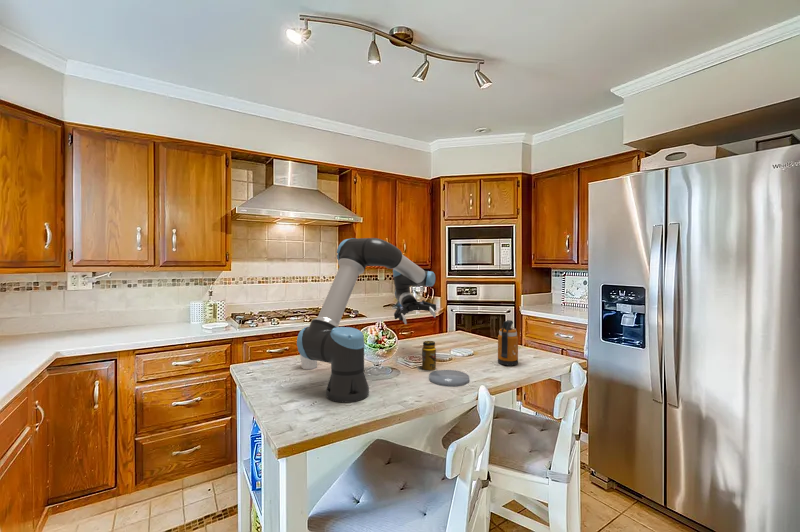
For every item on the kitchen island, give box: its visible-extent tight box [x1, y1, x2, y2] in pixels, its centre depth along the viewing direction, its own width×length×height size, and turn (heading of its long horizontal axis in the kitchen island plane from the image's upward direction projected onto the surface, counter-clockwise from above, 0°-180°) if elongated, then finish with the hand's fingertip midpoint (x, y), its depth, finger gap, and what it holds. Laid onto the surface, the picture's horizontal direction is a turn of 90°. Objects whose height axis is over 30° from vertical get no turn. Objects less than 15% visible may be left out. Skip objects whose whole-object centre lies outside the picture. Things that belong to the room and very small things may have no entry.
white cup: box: [299, 353, 318, 370], centre depth 167 cm, size 8×8×10 cm
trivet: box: [428, 369, 470, 387], centre depth 151 cm, size 16×16×2 cm
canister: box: [497, 319, 519, 367], centre depth 172 cm, size 9×11×20 cm
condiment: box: [415, 340, 438, 372], centre depth 165 cm, size 7×8×12 cm
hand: (420, 318), depth 167 cm, fingers open, 13 cm apart
